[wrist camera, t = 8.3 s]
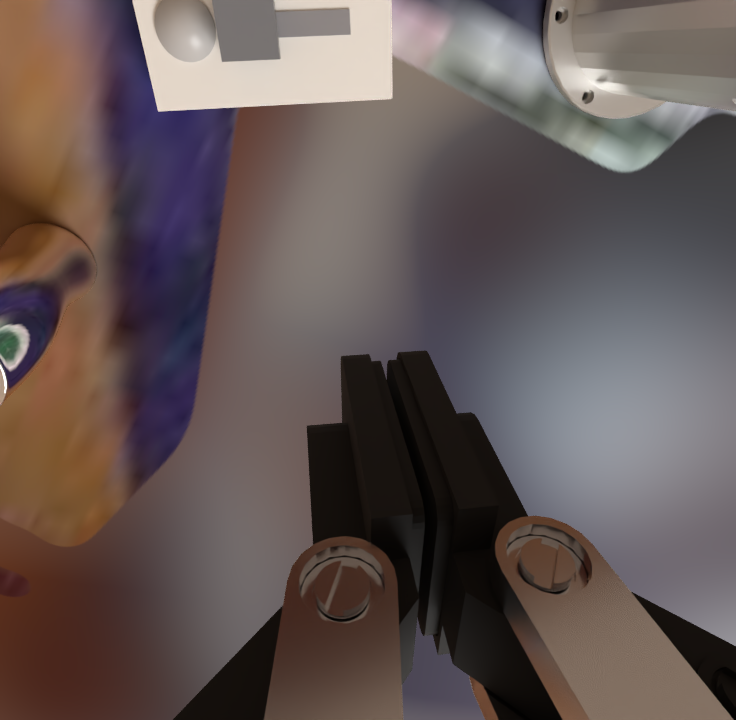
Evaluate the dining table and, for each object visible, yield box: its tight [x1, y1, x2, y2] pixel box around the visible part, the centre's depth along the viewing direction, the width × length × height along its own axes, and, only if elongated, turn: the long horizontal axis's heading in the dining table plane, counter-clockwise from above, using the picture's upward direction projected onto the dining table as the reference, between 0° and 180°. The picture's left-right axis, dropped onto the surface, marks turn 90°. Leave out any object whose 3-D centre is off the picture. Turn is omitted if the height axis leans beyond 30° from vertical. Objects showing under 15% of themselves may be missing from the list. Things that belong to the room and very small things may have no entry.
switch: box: [212, 0, 281, 62], centre depth 27 cm, size 3×3×3 cm
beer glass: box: [0, 223, 97, 406], centre depth 31 cm, size 7×7×15 cm
